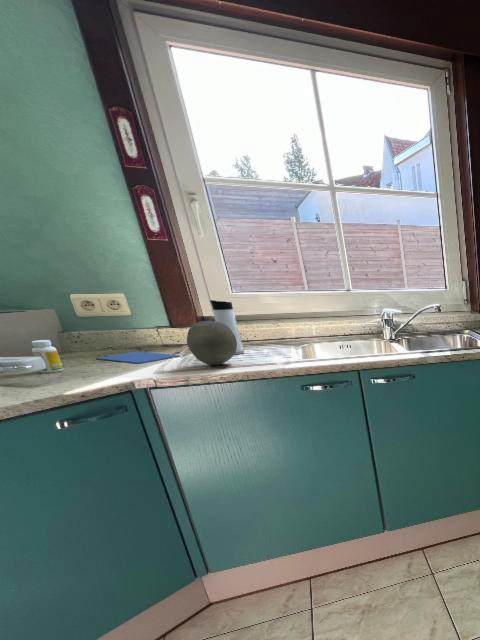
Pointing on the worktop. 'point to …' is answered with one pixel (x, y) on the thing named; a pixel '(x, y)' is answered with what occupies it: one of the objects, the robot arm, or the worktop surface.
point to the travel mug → (227, 320)
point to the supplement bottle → (47, 356)
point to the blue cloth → (138, 357)
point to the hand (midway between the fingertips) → (17, 359)
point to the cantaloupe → (211, 342)
